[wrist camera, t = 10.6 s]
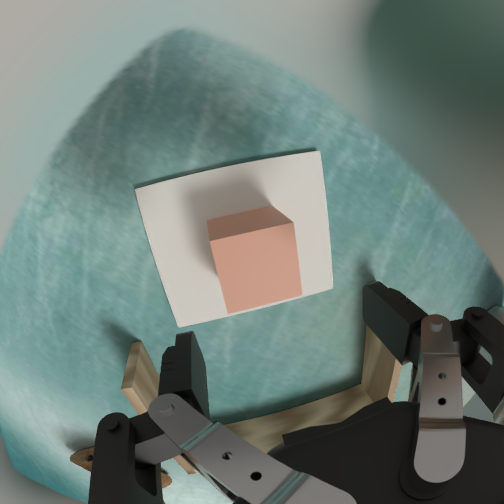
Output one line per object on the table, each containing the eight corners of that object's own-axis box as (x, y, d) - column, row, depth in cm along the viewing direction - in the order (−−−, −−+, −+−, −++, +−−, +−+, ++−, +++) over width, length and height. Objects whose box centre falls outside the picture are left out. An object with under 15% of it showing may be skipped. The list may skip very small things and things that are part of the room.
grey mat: (317, 150, 21) (319, 150, 21) (330, 285, 26) (333, 288, 25) (136, 188, 20) (134, 189, 19) (178, 324, 24) (178, 327, 24)
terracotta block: (272, 205, 21) (293, 222, 17) (281, 265, 23) (302, 294, 19) (206, 220, 21) (209, 241, 16) (221, 280, 23) (227, 313, 18)
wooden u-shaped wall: (376, 280, 26) (411, 311, 21) (367, 385, 32) (388, 417, 27) (131, 342, 24) (121, 389, 18) (186, 435, 30) (188, 474, 24)
